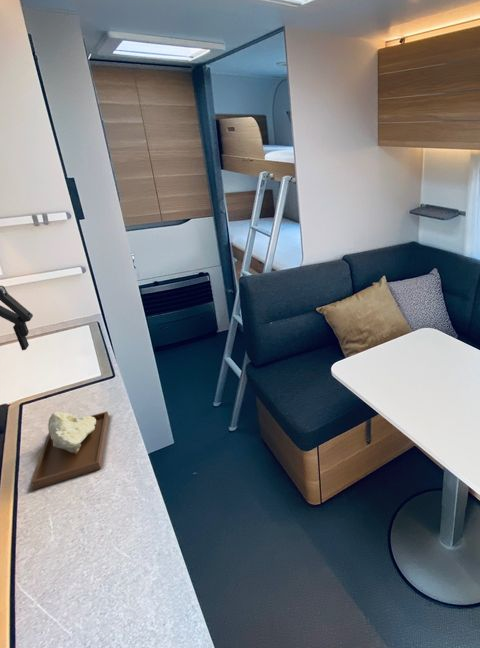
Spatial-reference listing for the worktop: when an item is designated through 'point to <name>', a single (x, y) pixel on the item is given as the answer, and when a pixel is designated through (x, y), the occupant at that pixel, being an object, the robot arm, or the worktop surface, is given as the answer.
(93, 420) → the cheese
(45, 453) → the holder
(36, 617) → the worktop surface
